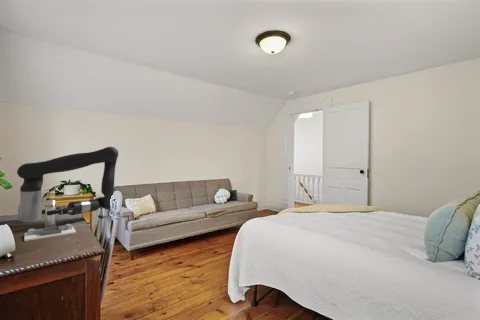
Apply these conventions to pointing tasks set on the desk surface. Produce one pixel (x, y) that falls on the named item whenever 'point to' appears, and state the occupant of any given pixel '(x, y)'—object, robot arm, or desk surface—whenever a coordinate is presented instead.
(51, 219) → the cylinder
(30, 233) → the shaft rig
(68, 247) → the desk surface
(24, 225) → the desk surface
